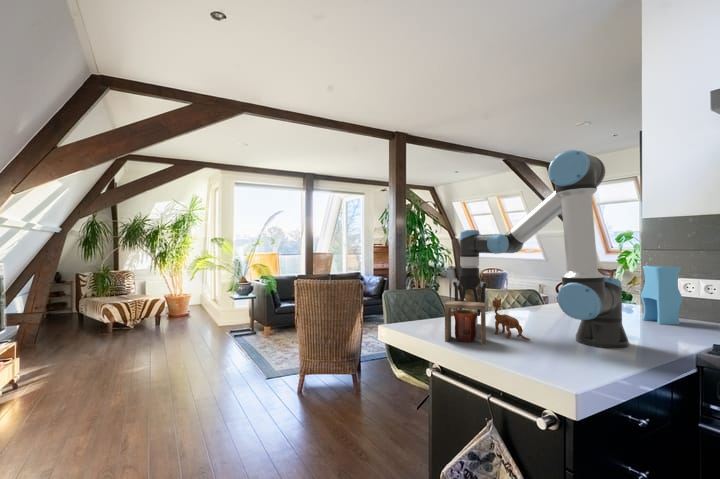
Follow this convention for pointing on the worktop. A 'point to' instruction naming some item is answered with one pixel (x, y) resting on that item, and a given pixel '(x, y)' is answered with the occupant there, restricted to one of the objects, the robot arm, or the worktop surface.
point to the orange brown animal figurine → (506, 322)
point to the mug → (465, 325)
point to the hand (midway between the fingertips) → (469, 323)
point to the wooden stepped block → (470, 297)
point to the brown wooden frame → (466, 306)
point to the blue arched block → (661, 294)
